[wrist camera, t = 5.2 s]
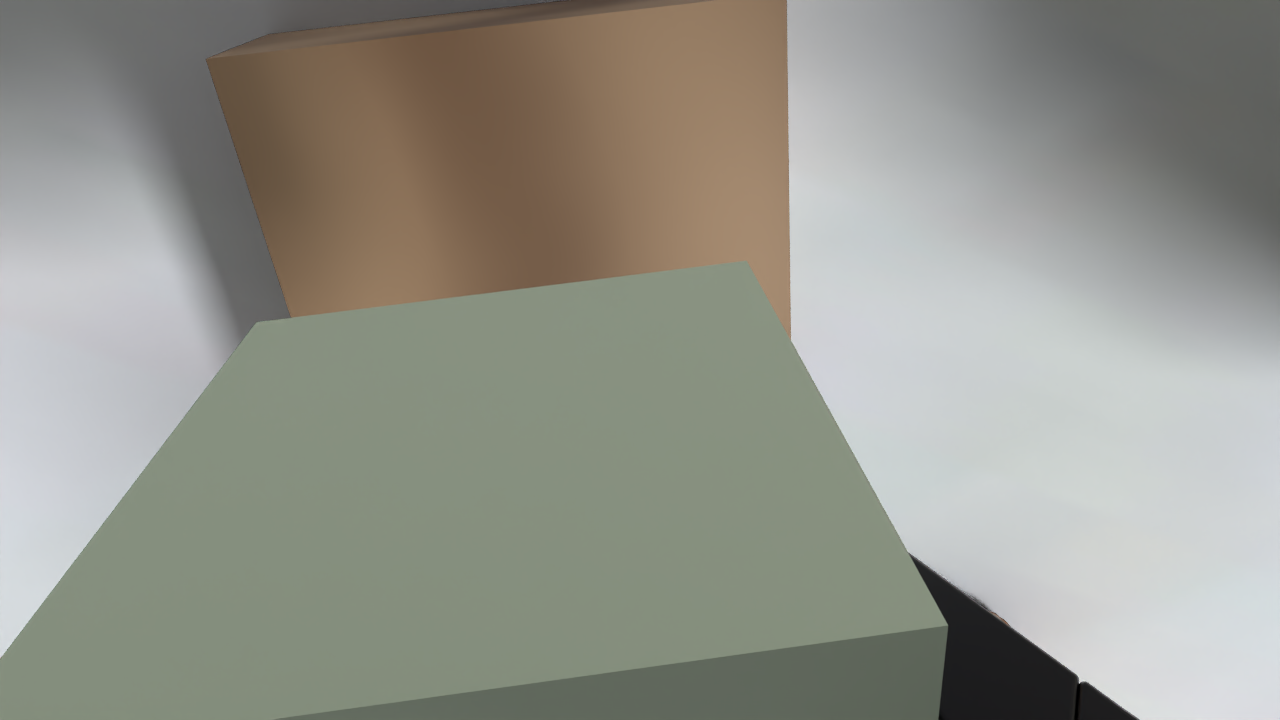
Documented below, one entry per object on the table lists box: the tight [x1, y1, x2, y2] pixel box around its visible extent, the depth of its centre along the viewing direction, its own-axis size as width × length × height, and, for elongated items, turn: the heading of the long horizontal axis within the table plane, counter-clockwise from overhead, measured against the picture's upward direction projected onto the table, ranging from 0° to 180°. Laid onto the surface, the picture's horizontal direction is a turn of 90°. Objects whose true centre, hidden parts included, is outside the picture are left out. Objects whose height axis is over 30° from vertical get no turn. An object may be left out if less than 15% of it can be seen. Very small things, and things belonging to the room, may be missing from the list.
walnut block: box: [206, 0, 791, 340], centre depth 16 cm, size 9×9×4 cm
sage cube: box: [0, 261, 948, 720], centre depth 7 cm, size 5×5×5 cm
